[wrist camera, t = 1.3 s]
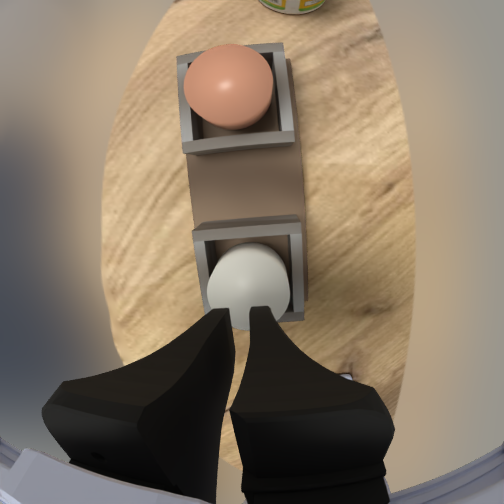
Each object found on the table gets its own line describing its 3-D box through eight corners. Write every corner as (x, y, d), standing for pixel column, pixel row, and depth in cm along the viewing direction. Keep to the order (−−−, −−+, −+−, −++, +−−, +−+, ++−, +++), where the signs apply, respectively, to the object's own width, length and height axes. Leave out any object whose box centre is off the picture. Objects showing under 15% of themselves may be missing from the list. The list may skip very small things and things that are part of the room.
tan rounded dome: (275, 126, 14) (277, 118, 11) (198, 134, 14) (186, 128, 12) (267, 58, 12) (267, 40, 10) (193, 67, 13) (181, 52, 10)
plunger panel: (306, 293, 20) (314, 320, 16) (209, 299, 21) (197, 327, 17) (288, 64, 16) (293, 40, 12) (185, 76, 16) (166, 57, 12)
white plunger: (288, 306, 16) (291, 327, 14) (220, 310, 17) (213, 331, 14) (284, 239, 15) (288, 252, 13) (210, 245, 16) (201, 258, 13)
